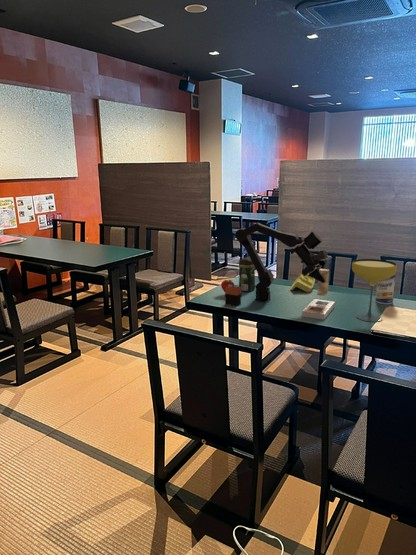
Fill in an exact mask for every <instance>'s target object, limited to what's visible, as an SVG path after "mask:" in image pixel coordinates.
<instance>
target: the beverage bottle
mask: <svg viewBox="0 0 416 555" xmlns="http://www.w3.org/2000/svg"><path fill="white" fill-rule="evenodd" d="M395 285H396V274H395V275H393V276H392V277H390V278H387V279H384V280H381V281H379V282H378V283H377V284H376V292H375V299H374V300H375V303H378V304H380V305H391V304H393V303H394V293H395Z"/></svg>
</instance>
